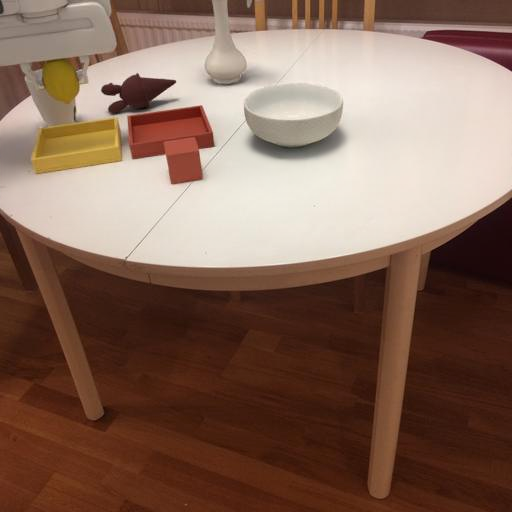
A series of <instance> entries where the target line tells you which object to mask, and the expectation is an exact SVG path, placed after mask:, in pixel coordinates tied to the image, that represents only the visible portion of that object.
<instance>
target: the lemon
mask: <svg viewBox="0 0 512 512" xmlns="http://www.w3.org/2000/svg"><path fill="white" fill-rule="evenodd" d="M41 69H42V77H43V82H44V86H45V88H46V90H47V92H48V93H49V95H50V96H51V97H52V98H54V99H55V100H57V101H61V102H64V103H65V104H70V103H71V101H72V100H73V99H74V98H75V99H76V98H77V96H78V95H79V92H80V86H81V85H79V82H78V79H77V70H76V68H75V67H74V65H73V64H72V63H71V62H70V61H69V60H67V58H63V59H55V60H47V61H45V63H44V64H43V66H42V68H41Z"/></svg>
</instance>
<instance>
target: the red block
mask: <svg viewBox="0 0 512 512" xmlns="http://www.w3.org/2000/svg"><path fill="white" fill-rule="evenodd" d="M164 147H165V153H166V154H165V158H166V163H167V168H168V170H167V171H168V175H169V179H170V184H171V185H175V184H176V185H177V184H180V183H187V182H193V181H199V180H204V176H203V167H202V162H201V154H200V149H199V148H198V145H197V142H196V139H195V137H191V138H185V139H178V140H171V141H165V142H164Z"/></svg>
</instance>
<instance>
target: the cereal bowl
mask: <svg viewBox="0 0 512 512" xmlns="http://www.w3.org/2000/svg"><path fill="white" fill-rule="evenodd" d="M343 110H344V99H343V96H342V94H340V92H338V91H337V90H335V89H333V88H331V87H328V86H325V85H321V84H315V83H308V82H306V83H305V82H285V83H276V84H271V85H267V86H263V87H260V88H257V89H255V90H253V91H251V92H250V93H249V94H247V95H246V97H245V98H244V102H243V112H244V117H245V122H246V124H247V126H248V128H249V129H250V130H251V132H252V133H253V134H254V135H256V136H257V137H259V139H262V140H263V141H266V142H268V143H272V144H275V145H276V146H279V147H283V148H299V147H300V148H301V147H306V146H308V145H310V144H312V143H316V142H319V141H322V140H323V139H325V138H327V137H329V136H330V135H331V134H332V133H333V132H334V131H335V130H336V129H337V128H338V126H339V124H340V122H341V119H342V116H343Z"/></svg>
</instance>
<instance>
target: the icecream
mask: <svg viewBox="0 0 512 512" xmlns="http://www.w3.org/2000/svg"><path fill="white" fill-rule="evenodd" d="M175 84H177V80H176V79H168V78H154V77H144V76H143V77H142V76H140V74H139V73H138V72H136V73H135V74H132V75H130V76H128V77H127V78H126V79H125V80H124V81H122V83H121V85H120V84H114V83H113V82H109V83H107V84H106V83H105V84H104V85H102V86H101V88H100V89H101V90H100V92H101V93H102V94H103V95H104V96H108V97H116V96H117V95H119V97H118V98H120V99H119V100H116V101H114V102H112V103H111V104H109V105H108V107H107V111H108V113H110V114H112V115H114V114H118V113H120V112H122V111H123V110H125V109H126V108H127V107H128V106H129V107H131V108H133V109H144V108H150V102H152V101H153V100H155V99H157V97H159V96H160V95H162V94H163V93H164V92H165V91H167V90H168V89H170V88H172V87H173V86H174V85H175Z"/></svg>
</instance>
